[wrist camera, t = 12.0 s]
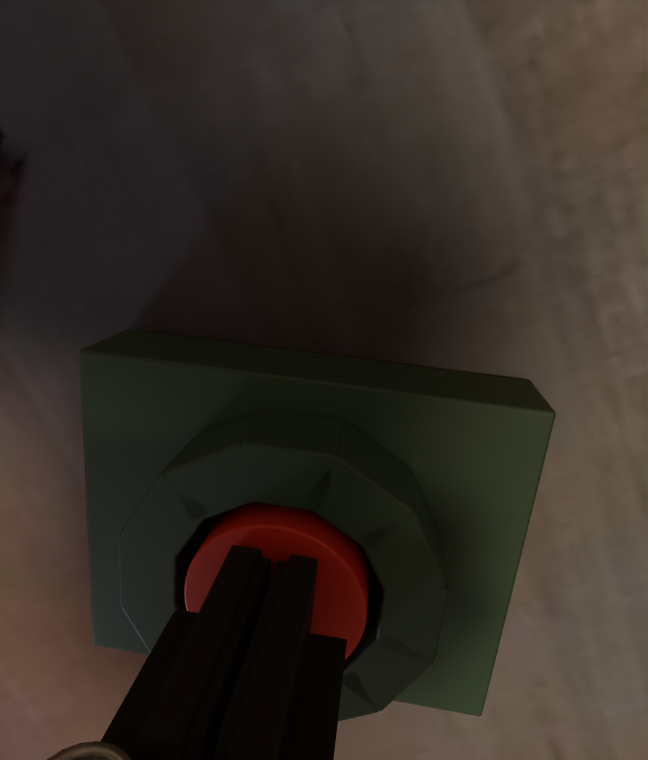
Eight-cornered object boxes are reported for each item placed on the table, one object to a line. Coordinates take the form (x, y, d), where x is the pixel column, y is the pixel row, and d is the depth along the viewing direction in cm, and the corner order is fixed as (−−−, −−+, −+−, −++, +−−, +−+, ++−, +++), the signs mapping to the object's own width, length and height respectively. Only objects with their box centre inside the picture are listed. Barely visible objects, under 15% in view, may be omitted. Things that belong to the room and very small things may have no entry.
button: (209, 605, 13) (181, 664, 11) (214, 468, 12) (184, 511, 10) (360, 631, 12) (355, 696, 11) (380, 494, 11) (377, 542, 10)
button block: (131, 589, 16) (49, 705, 12) (126, 328, 14) (22, 372, 10) (470, 648, 15) (495, 794, 11) (531, 379, 13) (589, 450, 9)
